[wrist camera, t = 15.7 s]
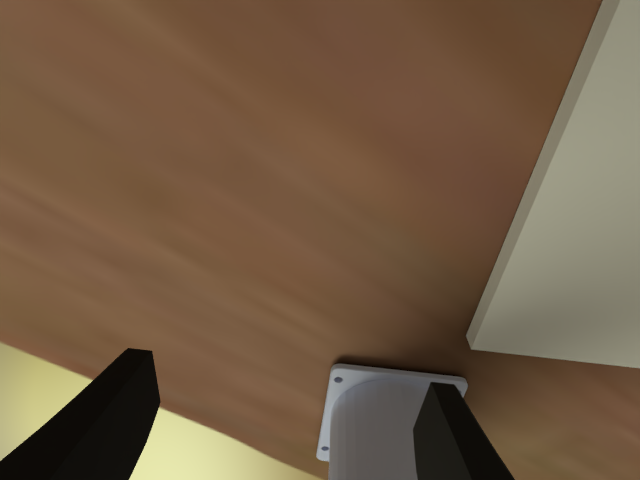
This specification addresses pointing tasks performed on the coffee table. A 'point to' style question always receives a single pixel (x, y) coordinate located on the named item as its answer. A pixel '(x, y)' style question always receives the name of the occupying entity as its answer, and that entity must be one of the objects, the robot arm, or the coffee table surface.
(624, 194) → the subfloor board
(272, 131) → the coffee table surface
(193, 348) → the coffee table surface
